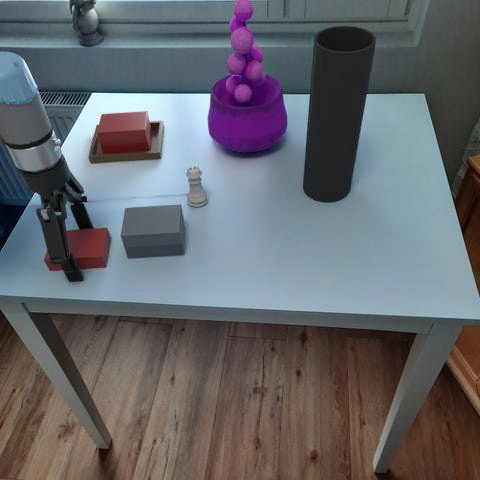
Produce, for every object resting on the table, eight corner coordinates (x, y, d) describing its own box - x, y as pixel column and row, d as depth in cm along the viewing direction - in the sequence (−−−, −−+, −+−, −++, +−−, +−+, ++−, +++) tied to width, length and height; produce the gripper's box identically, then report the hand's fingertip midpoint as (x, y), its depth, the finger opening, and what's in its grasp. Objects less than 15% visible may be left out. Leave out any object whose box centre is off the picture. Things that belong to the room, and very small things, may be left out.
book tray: (91, 166, 111) (88, 156, 108) (99, 134, 119) (96, 124, 117) (161, 162, 110) (159, 152, 108) (164, 130, 119) (163, 120, 116)
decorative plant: (293, 157, 109) (301, 12, 85) (214, 167, 108) (200, 24, 84) (277, 115, 120) (280, -24, 97) (206, 124, 119) (191, -14, 95)
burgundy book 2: (100, 144, 109) (96, 132, 107) (104, 125, 114) (101, 113, 112) (147, 141, 109) (144, 129, 107) (149, 122, 114) (147, 110, 111)
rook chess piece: (211, 197, 102) (207, 165, 95) (203, 210, 99) (199, 178, 93) (192, 193, 103) (187, 161, 97) (184, 205, 100) (178, 174, 94)
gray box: (128, 258, 92) (120, 235, 87) (131, 230, 96) (124, 207, 92) (184, 255, 92) (179, 232, 87) (185, 227, 96) (181, 204, 92)
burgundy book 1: (49, 270, 91) (43, 260, 88) (57, 242, 95) (52, 230, 93) (106, 267, 90) (101, 256, 88) (111, 238, 95) (107, 227, 93)
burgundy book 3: (103, 155, 112) (100, 144, 109) (108, 136, 116) (104, 125, 114) (150, 152, 111) (147, 141, 109) (152, 134, 116) (149, 122, 114)
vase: (360, 191, 101) (389, 41, 77) (321, 208, 98) (339, 58, 74) (330, 167, 106) (349, 20, 82) (293, 183, 103) (301, 35, 79)
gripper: (47, 208, 68) (91, 301, 85) (76, 117, 83) (108, 211, 100) (-4, 212, 68) (50, 304, 85) (34, 120, 83) (73, 213, 100)
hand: (82, 254), depth 93 cm, fingers open, 13 cm apart
